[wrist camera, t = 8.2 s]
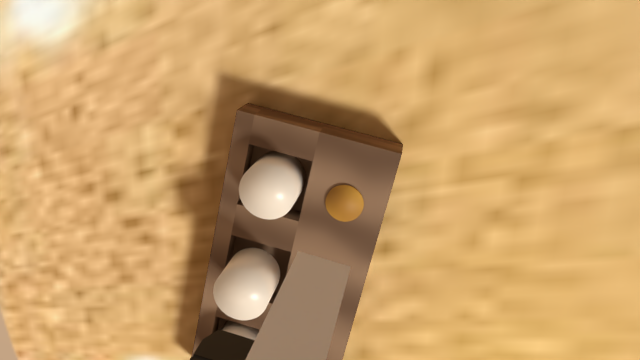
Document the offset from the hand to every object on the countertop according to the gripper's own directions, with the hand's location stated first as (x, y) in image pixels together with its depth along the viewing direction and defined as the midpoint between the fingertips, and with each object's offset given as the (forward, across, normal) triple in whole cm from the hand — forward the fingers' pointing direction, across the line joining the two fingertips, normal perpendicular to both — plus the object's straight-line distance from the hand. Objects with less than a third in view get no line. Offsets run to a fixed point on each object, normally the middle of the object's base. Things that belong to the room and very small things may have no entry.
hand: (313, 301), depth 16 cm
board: (+31, -4, -16) cm, 36 cm away
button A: (+30, -7, -8) cm, 32 cm away
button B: (+28, -7, -16) cm, 33 cm away
